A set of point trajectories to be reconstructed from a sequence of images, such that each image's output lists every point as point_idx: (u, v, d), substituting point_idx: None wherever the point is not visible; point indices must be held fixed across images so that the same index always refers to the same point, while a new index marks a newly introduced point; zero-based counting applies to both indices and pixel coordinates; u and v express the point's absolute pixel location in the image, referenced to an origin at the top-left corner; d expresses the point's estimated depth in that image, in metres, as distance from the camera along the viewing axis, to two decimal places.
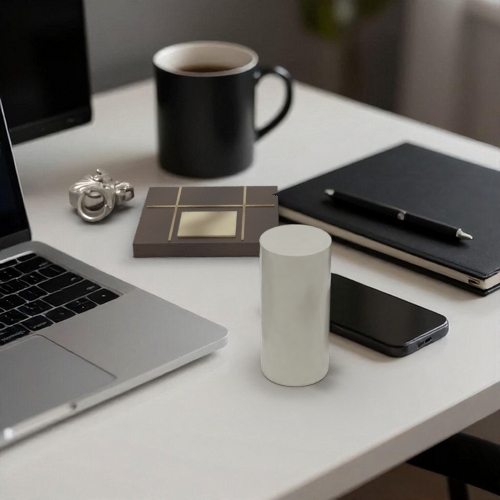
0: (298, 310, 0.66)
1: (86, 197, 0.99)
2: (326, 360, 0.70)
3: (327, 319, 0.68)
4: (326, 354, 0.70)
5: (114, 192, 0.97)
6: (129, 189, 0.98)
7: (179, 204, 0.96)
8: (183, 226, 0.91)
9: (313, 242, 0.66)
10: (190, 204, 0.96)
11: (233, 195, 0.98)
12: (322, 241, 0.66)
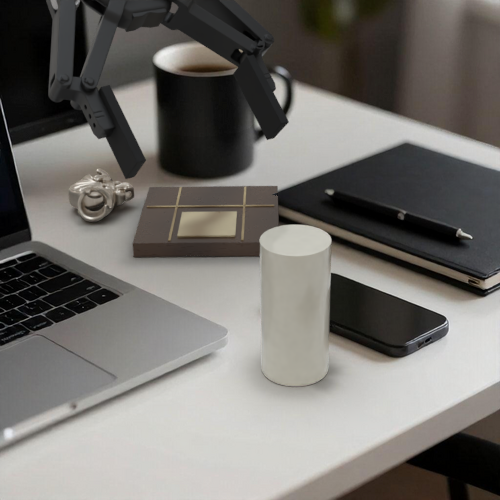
0: (298, 310, 0.66)
1: (86, 197, 0.99)
2: (326, 360, 0.70)
3: (327, 319, 0.68)
4: (326, 354, 0.70)
5: (114, 192, 0.97)
6: (129, 189, 0.98)
7: (179, 204, 0.96)
8: (183, 226, 0.91)
9: (313, 242, 0.66)
10: (190, 204, 0.96)
11: (233, 195, 0.98)
12: (322, 241, 0.66)
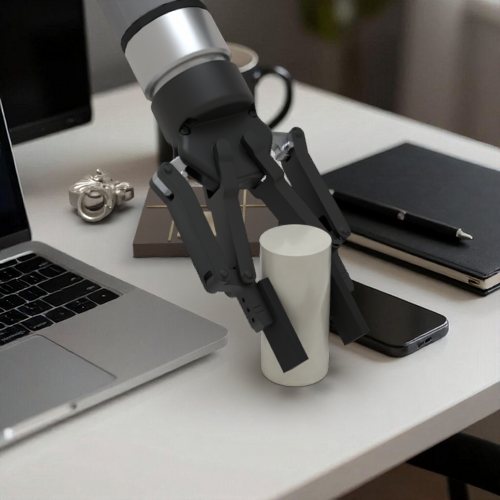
0: (298, 310, 0.66)
1: (86, 197, 0.99)
2: (326, 360, 0.70)
3: (327, 319, 0.68)
4: (326, 354, 0.70)
5: (114, 192, 0.97)
6: (129, 189, 0.98)
7: None
8: None
9: (313, 242, 0.66)
10: None
11: None
12: (322, 241, 0.66)
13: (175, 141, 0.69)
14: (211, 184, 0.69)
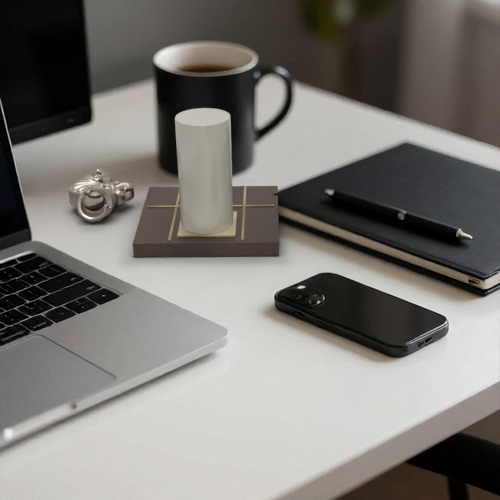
0: (204, 170, 0.86)
1: (86, 197, 0.99)
2: (230, 214, 0.90)
3: (229, 180, 0.88)
4: (230, 209, 0.90)
5: (114, 192, 0.97)
6: (129, 189, 0.98)
7: (179, 204, 0.96)
8: None
9: (216, 118, 0.86)
10: None
11: (233, 195, 0.98)
12: (222, 117, 0.86)
13: None
14: None
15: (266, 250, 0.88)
